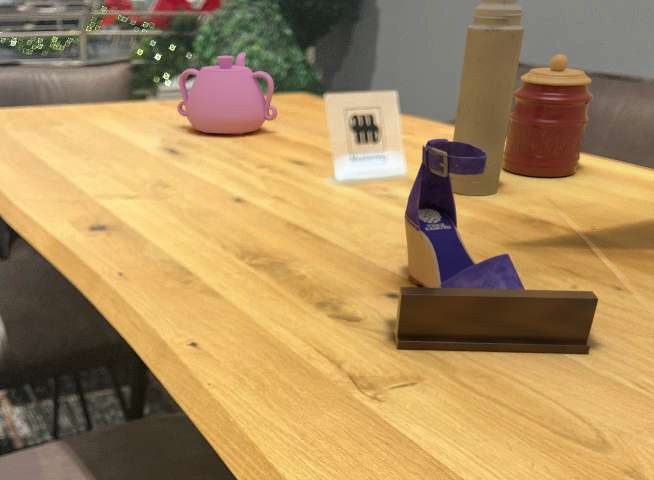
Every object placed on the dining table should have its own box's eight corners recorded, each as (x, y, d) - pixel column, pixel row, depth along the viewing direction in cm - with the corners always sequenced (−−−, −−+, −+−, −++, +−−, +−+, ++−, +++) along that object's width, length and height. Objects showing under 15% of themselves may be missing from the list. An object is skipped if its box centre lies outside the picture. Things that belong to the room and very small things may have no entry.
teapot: (290, 122, 171) (291, 51, 163) (267, 140, 154) (267, 62, 146) (197, 117, 175) (194, 48, 167) (164, 135, 158) (159, 58, 150)
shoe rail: (577, 336, 75) (589, 287, 72) (588, 354, 72) (602, 302, 69) (393, 332, 76) (398, 282, 73) (397, 349, 72) (402, 298, 69)
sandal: (481, 341, 74) (510, 177, 65) (388, 275, 89) (401, 135, 80) (552, 330, 76) (588, 170, 68) (449, 268, 91) (468, 131, 83)
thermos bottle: (446, 182, 126) (473, -23, 110) (496, 184, 125) (529, -22, 109) (446, 194, 120) (474, -21, 104) (498, 196, 119) (535, -21, 103)
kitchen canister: (534, 158, 142) (555, 49, 131) (592, 172, 133) (619, 56, 123) (485, 167, 136) (502, 52, 126) (542, 182, 127) (565, 60, 117)
